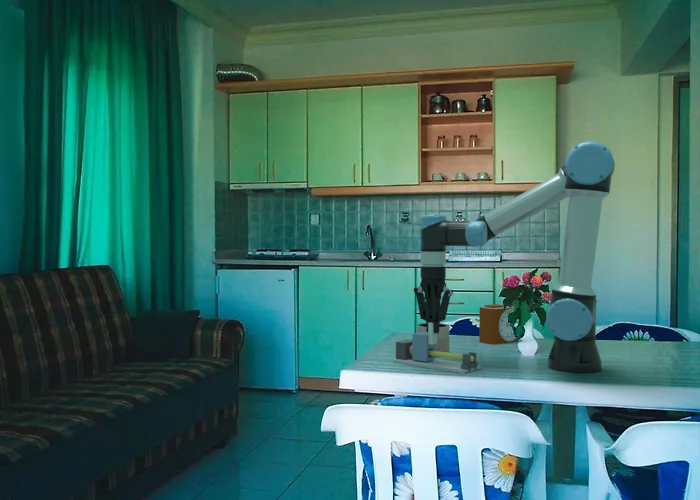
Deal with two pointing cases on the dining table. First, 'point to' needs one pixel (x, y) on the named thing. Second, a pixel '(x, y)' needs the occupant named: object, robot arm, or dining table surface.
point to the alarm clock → (495, 325)
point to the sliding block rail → (406, 358)
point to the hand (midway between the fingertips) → (432, 343)
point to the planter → (438, 336)
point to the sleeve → (421, 347)
